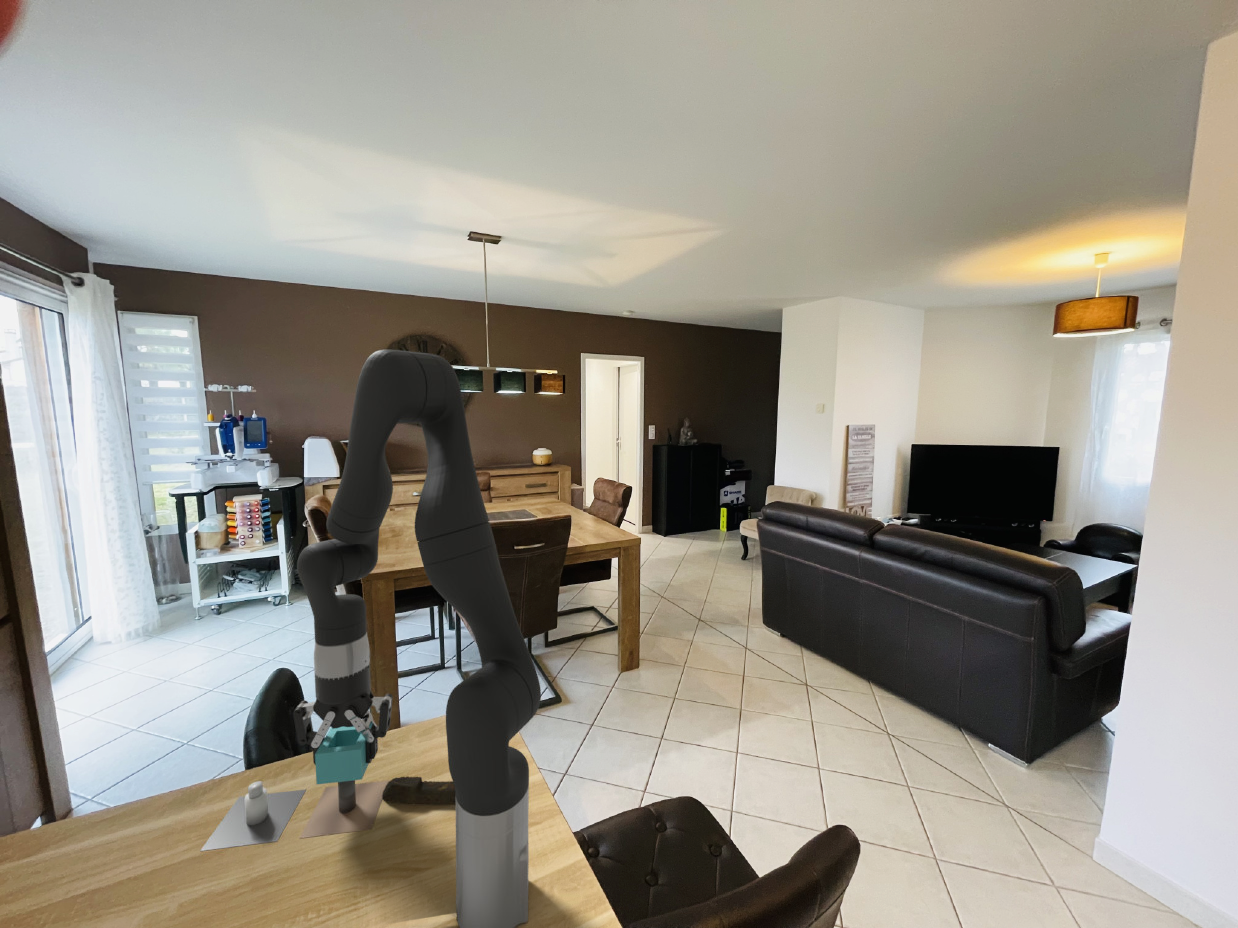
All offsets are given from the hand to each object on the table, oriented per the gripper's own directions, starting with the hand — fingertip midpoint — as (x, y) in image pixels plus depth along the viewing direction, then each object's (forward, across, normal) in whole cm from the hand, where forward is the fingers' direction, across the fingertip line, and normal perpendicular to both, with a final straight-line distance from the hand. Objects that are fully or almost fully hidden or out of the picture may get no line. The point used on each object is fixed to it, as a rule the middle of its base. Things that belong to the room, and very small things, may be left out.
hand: (346, 761), depth 78 cm
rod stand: (+9, 0, 0) cm, 9 cm away
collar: (+1, 0, 0) cm, 1 cm away
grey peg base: (+9, -13, 0) cm, 16 cm away
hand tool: (+10, +14, -1) cm, 17 cm away
